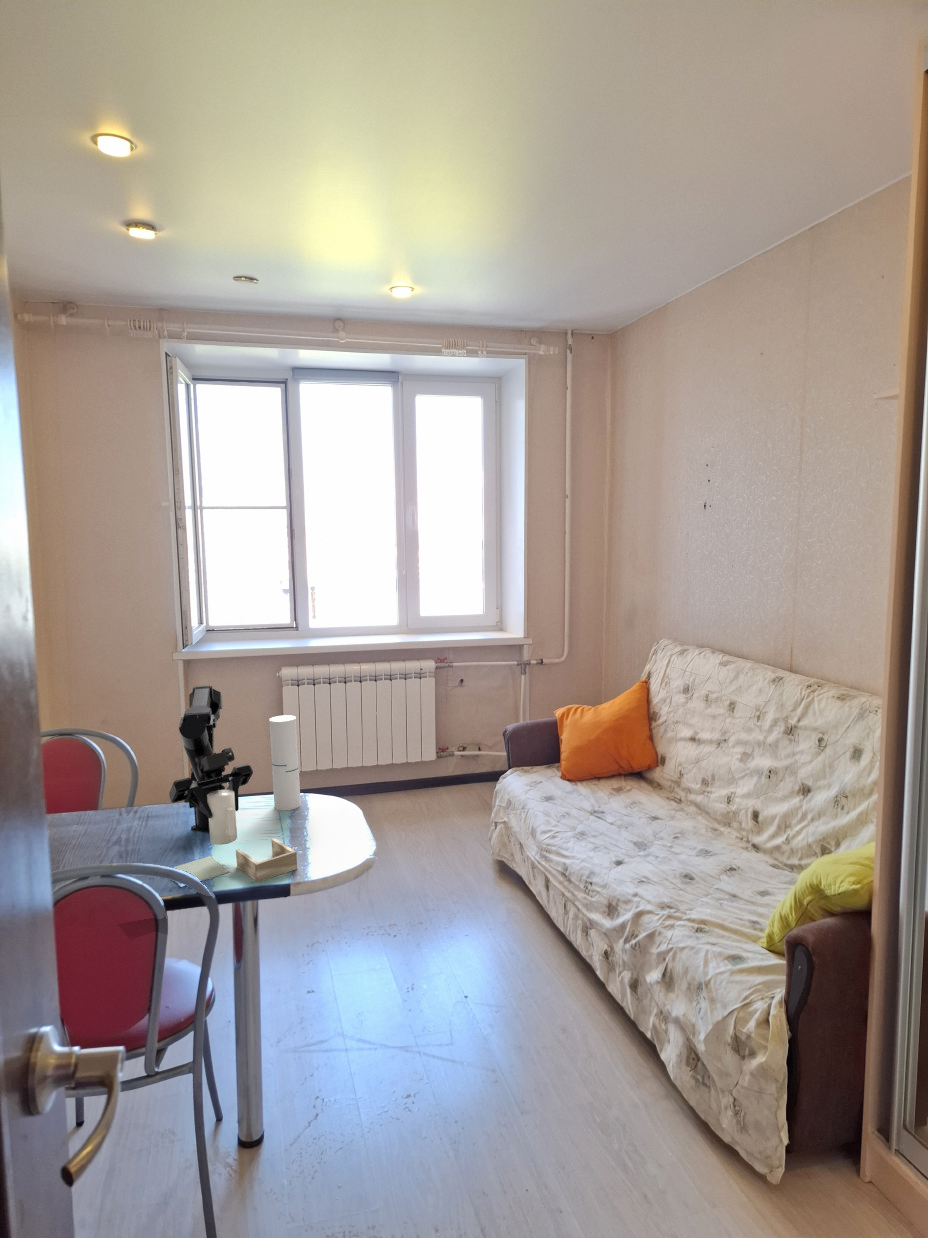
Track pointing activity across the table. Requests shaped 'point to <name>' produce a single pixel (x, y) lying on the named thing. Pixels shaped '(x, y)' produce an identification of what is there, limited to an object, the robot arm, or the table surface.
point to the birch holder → (268, 862)
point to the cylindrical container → (285, 762)
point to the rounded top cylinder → (222, 817)
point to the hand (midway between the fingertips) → (224, 813)
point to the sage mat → (204, 868)
